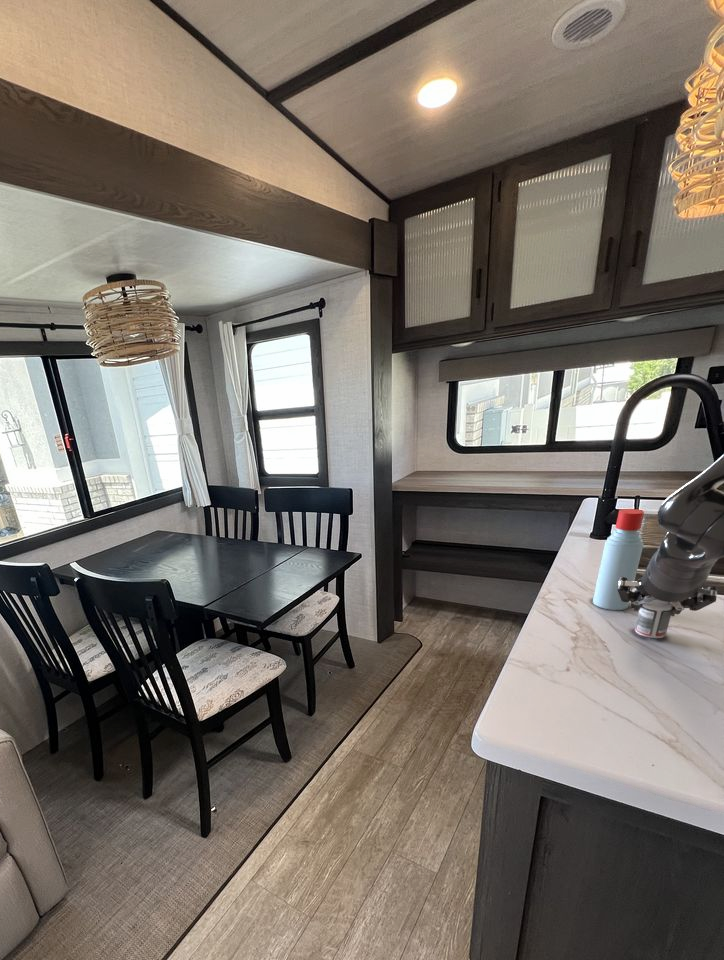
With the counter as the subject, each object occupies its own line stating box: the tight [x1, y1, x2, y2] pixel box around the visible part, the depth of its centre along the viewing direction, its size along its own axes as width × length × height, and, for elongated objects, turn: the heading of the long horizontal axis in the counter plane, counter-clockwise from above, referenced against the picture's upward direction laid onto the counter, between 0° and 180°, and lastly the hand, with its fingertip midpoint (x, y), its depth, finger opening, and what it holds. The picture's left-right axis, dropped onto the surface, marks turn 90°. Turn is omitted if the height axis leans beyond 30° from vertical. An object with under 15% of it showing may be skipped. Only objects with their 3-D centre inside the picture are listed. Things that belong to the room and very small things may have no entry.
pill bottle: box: [634, 600, 673, 639], centre depth 88 cm, size 5×5×8 cm
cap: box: [615, 508, 645, 531], centre depth 94 cm, size 4×4×3 cm
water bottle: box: [592, 528, 644, 611], centre depth 98 cm, size 6×6×20 cm
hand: (653, 608), depth 89 cm, fingers closed on pill bottle, 4 cm apart
